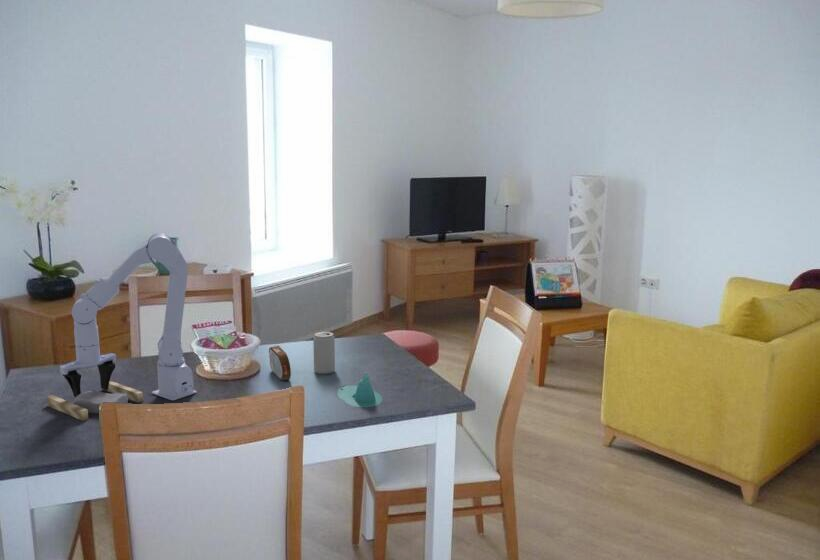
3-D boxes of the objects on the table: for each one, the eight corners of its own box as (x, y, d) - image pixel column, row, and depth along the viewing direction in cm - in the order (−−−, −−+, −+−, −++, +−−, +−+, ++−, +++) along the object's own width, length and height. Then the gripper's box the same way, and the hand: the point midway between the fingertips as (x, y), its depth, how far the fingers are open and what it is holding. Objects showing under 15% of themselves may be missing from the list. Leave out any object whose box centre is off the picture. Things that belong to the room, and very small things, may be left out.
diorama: (365, 382, 204) (365, 354, 202) (394, 405, 186) (394, 374, 184) (326, 388, 198) (325, 359, 197) (352, 412, 181) (352, 381, 179)
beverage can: (338, 372, 211) (338, 334, 209) (319, 376, 207) (319, 337, 205) (329, 367, 216) (328, 330, 214) (310, 370, 213) (309, 333, 210)
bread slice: (292, 383, 202) (291, 355, 200) (281, 384, 200) (280, 356, 199) (277, 368, 215) (277, 342, 213) (267, 369, 214) (267, 343, 212)
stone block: (91, 406, 187) (69, 412, 177) (92, 388, 187) (70, 394, 177) (133, 410, 186) (112, 417, 176) (134, 392, 186) (114, 398, 176)
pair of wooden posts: (143, 401, 186) (142, 392, 186) (82, 420, 173) (81, 411, 172) (107, 387, 196) (106, 379, 196) (47, 405, 182) (46, 396, 182)
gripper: (104, 335, 190) (108, 382, 193) (51, 347, 179) (56, 397, 181) (119, 340, 186) (122, 388, 189) (66, 352, 175) (70, 403, 177)
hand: (91, 393), depth 185 cm, fingers open, 7 cm apart
